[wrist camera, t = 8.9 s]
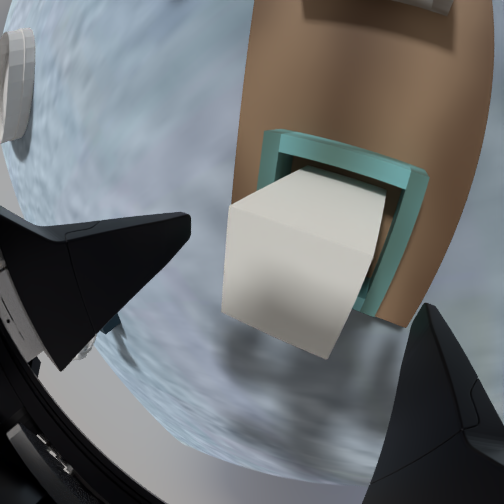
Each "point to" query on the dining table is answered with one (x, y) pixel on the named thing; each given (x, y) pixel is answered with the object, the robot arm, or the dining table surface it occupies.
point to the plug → (301, 255)
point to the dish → (16, 82)
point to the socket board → (373, 119)
